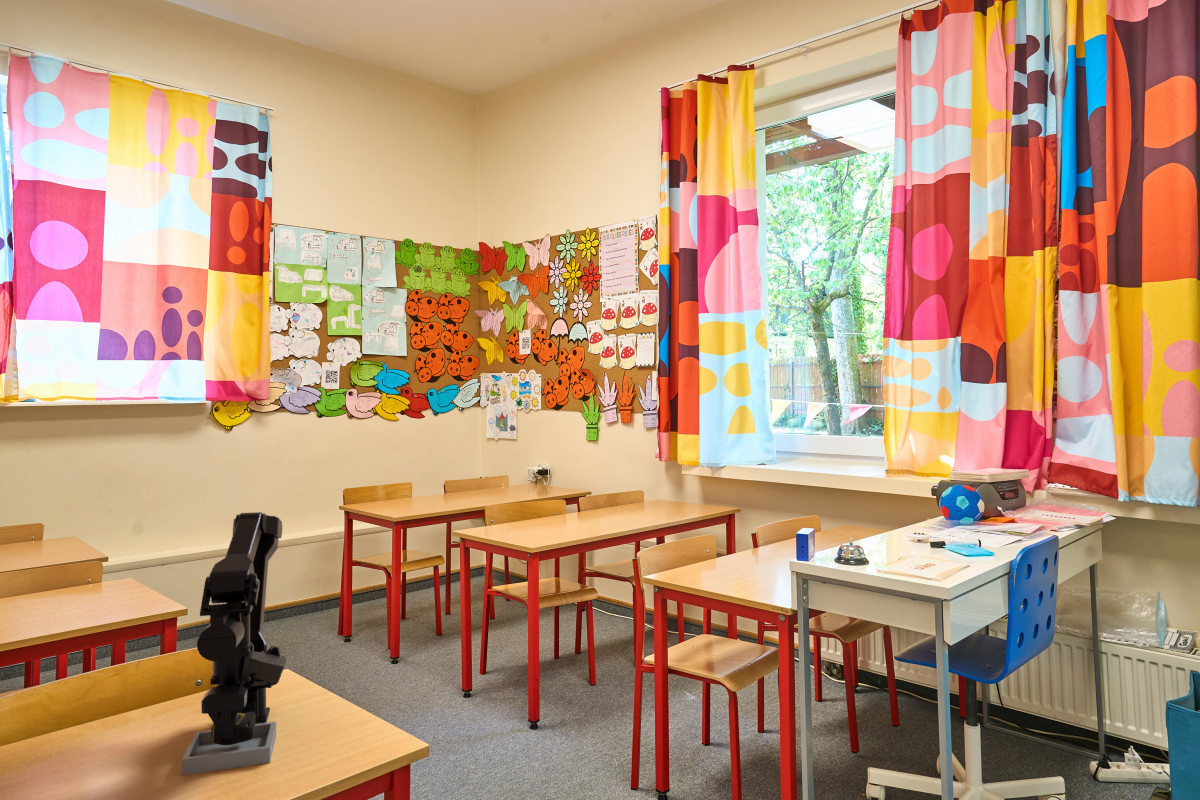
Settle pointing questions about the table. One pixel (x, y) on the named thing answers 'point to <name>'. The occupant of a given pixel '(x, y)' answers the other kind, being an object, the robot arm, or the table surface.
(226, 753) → the tray
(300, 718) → the table surface
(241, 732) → the tape measure
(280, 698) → the table surface
